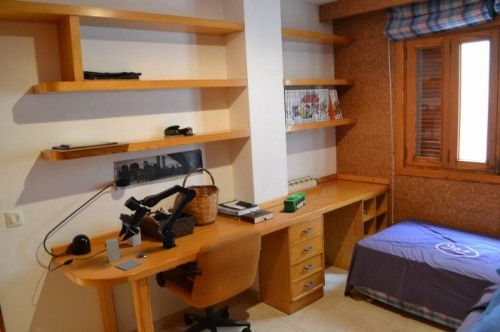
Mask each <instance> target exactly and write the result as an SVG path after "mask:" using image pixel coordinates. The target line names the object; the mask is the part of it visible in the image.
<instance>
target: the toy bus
mask: <svg viewBox="0 0 500 332" xmlns="http://www.w3.org/2000/svg"><path fill="white" fill-rule="evenodd" d="M306 197H307V196H306V193H305V192H294V193H292V194H291V195H289V196H288V197H286V199H284V200H283V211H284V212H293V213H294V212H296V211H298V210H299V209H300V208H301V207H303V206H305V204H307V200H306V199H307V198H306Z"/></svg>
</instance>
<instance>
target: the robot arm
mask: <svg viewBox="0 0 500 332" xmlns="http://www.w3.org/2000/svg"><path fill="white" fill-rule="evenodd" d="M178 193H180V194H181V197H180V201H179V202H178V203H177V205H176V206H175V207H174V209H173V211H172V212H171V214H169V217H168V218H167V219H165V220H163V219H162V220H161V222H160V224H159V225H158V227H157V231H158V233H159V234H160V235H161V236H162V246H161V247H162V248H164V249H165V250H166V249H167V250H170V249H172V248H174V247H177V246H178V245H177V244H176V240H175V237H176V233H175V232H173V230H174V224H176V221H177V220H178V218H179V216H180V215H181V214H182V212H183V211H184V209H185V208H186V207H187V206H188V204H189V203H190V202H192V201H193V200H194V199H195V198H196V197H197V191H196V189H194V188H192V187H183V186H181V185H180V184H174V185H173V186H171V187H169V188H167V189H164V190H162V191H161V192H158V193H157V194H150V195H146V196H145V197H144V198H143V199H142V198H141V199H139V200H138V199H136V198H135V197H134V196H132V195H131V197H129V198H128V199H126V201H125V202H124V205H123V206H124V207H125V208H127V209H128V210H129V211H131V212H133V213H131V214H127V213H120V214H119V215H120V216H119V217H118V219H119V220H120V221H121V229H120V232H119V234H118V238H121V237H123V238H122V239H121V241H122V242H125V241H127V239H129V238H131V237H132V236H134V235H136V234H137V235H138V233H139V232H140V233H141V230H140V231H139V229H138V228H139V227H138V225H140V223H142V222H143V219H144V218H145V217H146V215H147V214H150V215H151V214H152V208H153V207H155V206H157V205H158V204H159V203H160V202H162V201H163V200H166V199H168V198H169V197H172V196H174V195H175V194H178ZM141 205H142V206H141ZM137 227H138V228H137ZM135 233H136V234H135Z"/></svg>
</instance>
